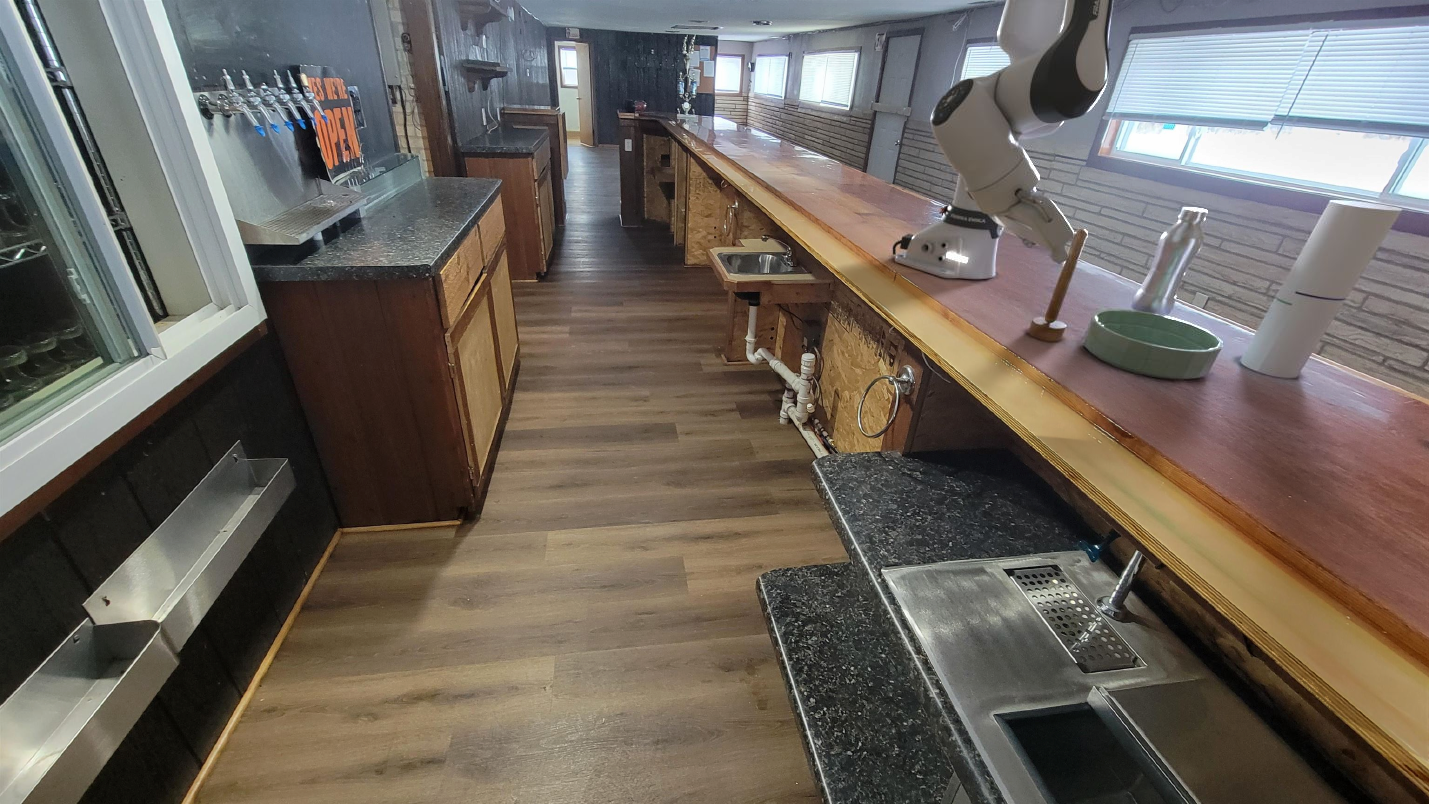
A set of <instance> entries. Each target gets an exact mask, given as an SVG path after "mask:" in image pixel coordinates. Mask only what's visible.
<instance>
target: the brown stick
mask: <svg viewBox="0 0 1429 804" xmlns="http://www.w3.org/2000/svg"><path fill="white" fill-rule="evenodd" d="M1087 238H1088V231H1087V230H1086V229H1085V228H1079V229H1077V230H1076V231H1075V232H1074V238H1073V239H1072V240H1071V242H1070V246H1069V247H1068V250H1067V254H1068V255H1069V257H1068V259H1067V260H1066V261H1064V262H1063V263H1062V264H1063V265H1062V268H1061V270H1060V273H1059V276H1058V278H1057V282H1056V284H1055V287H1054V290H1053V292H1052V296H1051V299H1050V301H1049V304H1048V306H1047V310H1046V313H1045V315H1044V316H1037V317H1033V318H1032V320H1031V323H1030V325H1029V328H1028V331H1027V333H1028V335H1029V336H1030V337H1032V338H1034V339H1037V340H1040V341H1046V342H1060V341H1062V338H1063V335H1064V332H1065V330H1066V328H1067V325H1066V324H1065V323H1064V322H1063V321H1061V320H1058V316H1059V314H1060V311H1061V308H1062V305H1063V304H1064V301H1065V298H1066V295H1067V292H1068V289H1069V286H1070V284H1071V281H1072V279H1073V275H1074V273H1075V269H1076V267H1077V265H1078V261H1079V259H1080V256H1081V254H1082V251H1083V248H1084V246H1085V243H1086V240H1087Z"/></svg>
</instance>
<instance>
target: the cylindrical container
mask: <svg viewBox="0 0 1429 804" xmlns="http://www.w3.org/2000/svg"><path fill="white" fill-rule="evenodd" d="M1402 212H1403V208H1400V207H1397V206H1393V205H1387V204H1382V203H1381V204H1380V203H1375V202H1374V203H1373V202H1366V201H1356V200H1345V199H1330V200H1329V202H1328V203H1327V205H1326V207H1325V209H1324V210H1323V212H1322V214H1321V216H1320V218H1319V219H1318V221H1317V223H1316V225H1315V227H1314V228H1313V230H1312V232H1311V233H1310V236H1309V237H1308V239H1307V240H1306V241H1305V242H1306V243H1305V244H1304V246H1303V248H1302V249H1301V251H1300V253H1299V255H1298V256H1297V259H1296V260H1295V262H1294V263H1293V265H1292V267H1291V269H1290V270H1289V272H1288V274H1287V276H1286V278H1285V280H1284V282H1283V283H1282V285H1281V287H1280V288H1279V290H1278V292H1277V293H1276V295H1275V298H1274V299H1273V301H1272V303H1271V304H1270V306H1269V308H1268V310H1267V311H1266V313H1265V315H1264V317H1263V318H1262V321H1261V322H1260V323H1259V326H1258V327H1257V329H1256V331H1255V333H1254V335H1253V337H1252V338H1251V340H1250V341H1249V344H1248V345H1247V348H1246V349H1245V350H1244V353H1243V354H1242V356H1241V358H1240V359H1239V363H1240V364H1241V365H1243V366H1244V367H1245V368H1248V369H1249V370H1252V371H1255V372H1258V373H1261V374H1264V375H1268V376H1271V377H1275V378H1276V377H1277V378H1284V379H1294V378H1297V377H1298V376H1299V375H1300V373H1301V372H1302V370H1303V369H1304V367H1305V366H1306V364H1307V362H1308V360H1310V357H1311V356H1312V354H1313V352H1314V351H1315V350H1316V348H1317V347H1318V345H1319V343H1320V341H1321V340H1322V338H1323V337H1324V335H1325V333H1326V332H1327V331H1328V328H1329V327H1330V325H1332V322H1333V321H1334V320H1335V318H1336V316H1337V314H1338V313H1339V311H1340V310H1341V308H1342V307H1343V305H1344V304H1345V302H1346V300H1347V298H1348V297H1349V296H1350V294H1351V292H1352V291H1353V289H1354V288H1355V286H1356V284H1357V283H1358V281H1359V279H1360V278H1361V276H1362V275H1363V273H1364V272H1365V270H1366V269H1367V267H1368V265H1369V264H1370V263H1371V261H1372V259H1373V258H1374V256H1375V254H1376V252H1377V251H1378V249H1379V248H1380V246H1381V245H1382V243H1383V241H1384V240H1385V238H1386V237H1387V235H1388V233H1389V232H1390V231H1391V229H1392V227H1393V226H1394V224H1395V223H1396V221H1397V219H1398V218H1399V216H1400V215H1401V213H1402Z"/></svg>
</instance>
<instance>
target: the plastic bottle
mask: <svg viewBox="0 0 1429 804" xmlns="http://www.w3.org/2000/svg"><path fill="white" fill-rule="evenodd" d="M1207 215H1208V210H1207V209H1204V208H1199V207H1189V206H1184V207H1182V209H1181V211H1180V214H1179V215H1178V217H1177V219H1178V220H1177V222H1175V223H1174V224H1172V225H1171V226H1169V227H1168V228H1167V229H1166V230H1165V231H1163V232H1162V234H1161V235H1160V237H1159V241H1158V243H1157V247H1156V249H1155V255H1154V258H1153V260H1152V263H1151V266H1150V268H1149V272H1147V275H1146V277H1145V279H1144V280H1143V282H1142V284H1141V286H1140V288H1139V289H1138V290H1137V291H1136V292H1135V294H1134V296H1133V298H1132V299H1131V304H1130V308H1131V310H1134V311H1142V312H1148V313H1153V314H1159V315H1163V316H1167V317H1168V316H1169V315H1170V313H1171V312H1172V310H1173V309H1174V307H1175V303H1176V300H1177V295H1178V292H1179V289H1180V286H1181V284H1182V281H1183V278H1184V277H1185V275H1186V273H1187V271H1188V270H1189V267H1190V266H1191V264H1192V262H1193V261H1194V260H1195V258H1196V256H1197V255H1198V253H1199V252H1200V250H1201V249H1202V248H1203V245H1204V244H1205V234H1204V230H1203V228H1202V223H1204V222H1205V220H1206V217H1207Z"/></svg>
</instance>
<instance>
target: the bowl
mask: <svg viewBox="0 0 1429 804" xmlns="http://www.w3.org/2000/svg"><path fill="white" fill-rule="evenodd" d="M1082 344H1083V346H1084V347H1085V348H1086V349H1087V350H1088V351H1089V352H1090V353H1091V354H1092V355H1093V356H1095V357H1096V358H1098V359H1099V360H1101V361H1103V362H1104V363H1107V364H1109V365H1111V366H1114V367H1117V368H1119V369H1122V370H1125V371H1128V372H1132V373H1135V374H1138V375H1142V376H1147V377H1153V378H1158V379H1159V378H1160V379H1166V380H1190V379H1198V378H1202V377H1205V376H1208V374H1209V373H1210V372H1211V370H1212V368H1213V365H1214V363H1215V361H1216V359H1217V358H1218V356H1219V354H1220V352H1221V350H1222V349H1223V347H1224V342H1223V340H1222V339H1221V338H1220V337H1219V336H1218V335H1216V334H1214V333H1213V332H1211V331H1210V330H1208V329H1205V328H1204V327H1202V326H1198V325H1196V324H1193V323H1190V322H1188V321H1185V320H1181V319H1178V318H1175V317H1171V316H1168V315H1167V316H1163V315H1159V314H1153V313H1148V312H1142V311H1134V310H1132V309H1122V308H1121V309H1119V308H1118V309H1102V310H1098V311H1096V312H1095V313H1093V314H1092V315H1091V317H1090V320H1089V322H1088V325H1087V327H1086V330H1085V333H1084V335H1083V337H1082Z"/></svg>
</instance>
